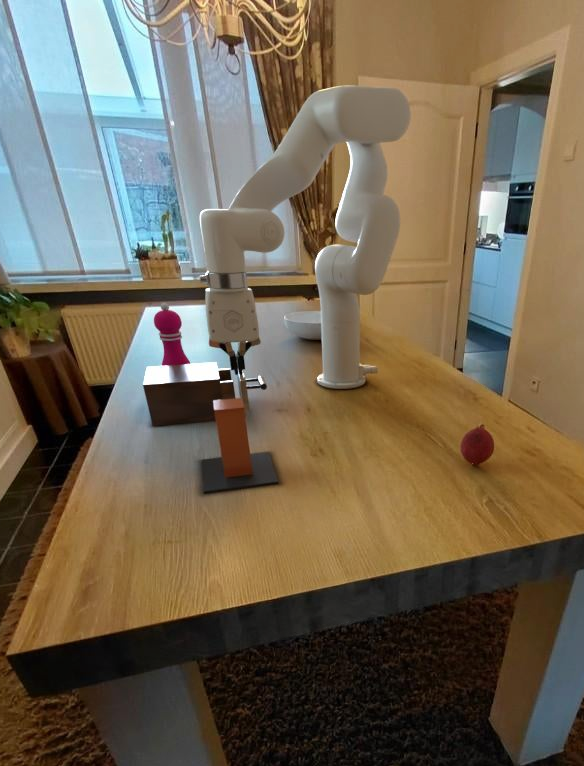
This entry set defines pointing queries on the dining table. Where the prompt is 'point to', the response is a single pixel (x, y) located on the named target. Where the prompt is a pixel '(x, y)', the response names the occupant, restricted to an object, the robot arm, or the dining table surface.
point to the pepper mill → (170, 336)
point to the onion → (477, 445)
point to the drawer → (228, 386)
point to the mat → (218, 482)
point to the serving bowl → (305, 324)
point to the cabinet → (182, 393)
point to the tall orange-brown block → (233, 437)
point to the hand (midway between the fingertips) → (238, 372)
